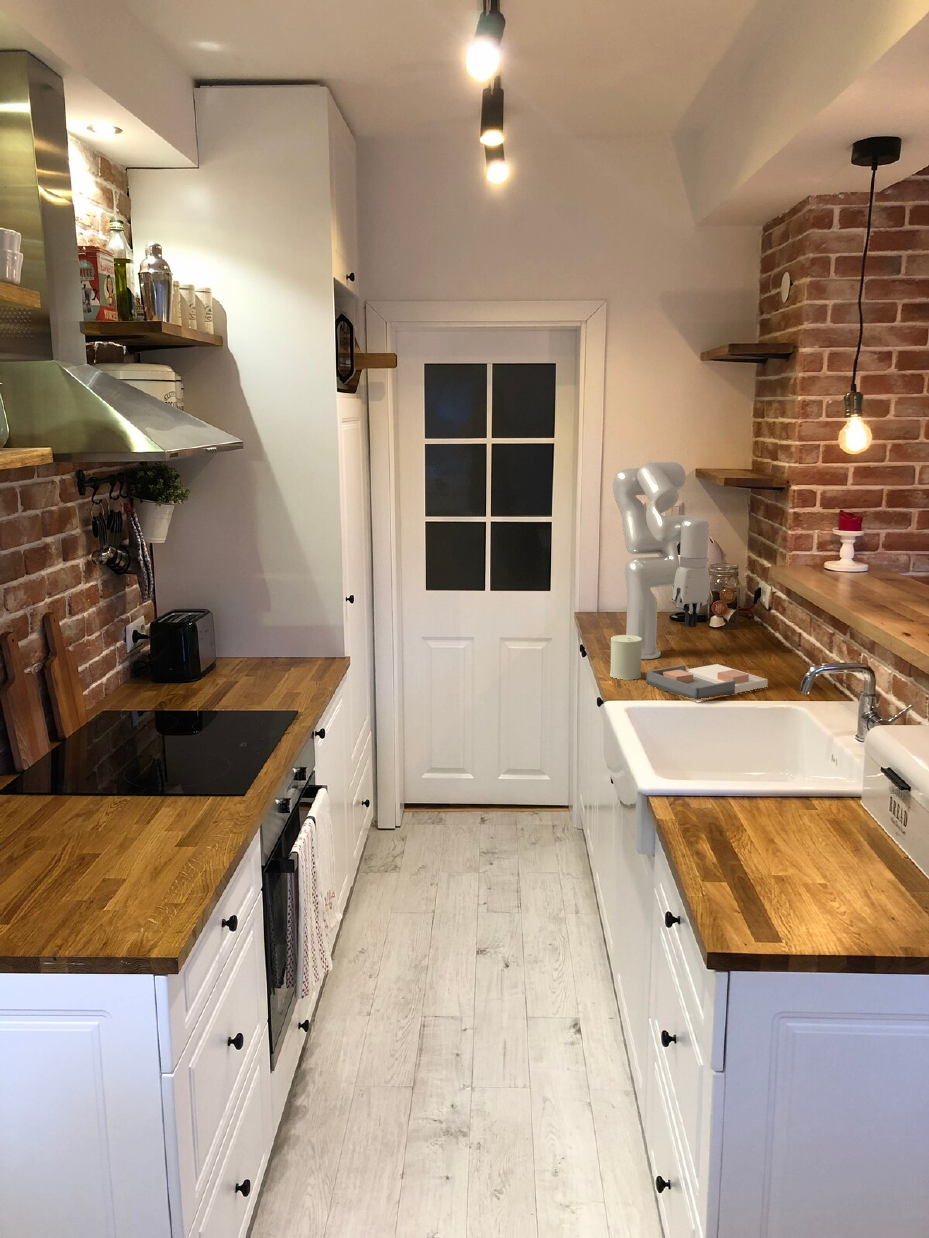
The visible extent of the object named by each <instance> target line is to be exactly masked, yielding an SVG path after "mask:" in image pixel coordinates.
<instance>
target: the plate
mask: <svg viewBox="0 0 929 1238" xmlns="http://www.w3.org/2000/svg"><path fill="white" fill-rule="evenodd" d="M728 670H736V671H739V672H743V673H746V674H749V681H747V682H742V683H737V684H735V693H738V692H742V691H750V690H753V689H757V688H764V687H767V688H768V683H769V679H767V678H764V677H761V676H757V675H754V674H751V673H748V672H745V671H741V670H739V669H734V668H733V667H732V668H731V667H729V666H725V665H721V664H718V663H715V664H711V665H705V666H704V665H703V666H698V667H694V668H688V669H686V672H688V673H691V674H693V676H694V677H697V678H700V679H703V680H706V681H709V682H712V683H715V684H717V683H723V682H724V681H721V680H718V679H717V677H718V672H723V671H728ZM750 692H751V691H750Z"/></svg>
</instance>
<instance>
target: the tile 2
mask: <svg viewBox="0 0 929 1238" xmlns="http://www.w3.org/2000/svg"><path fill="white" fill-rule="evenodd" d="M736 670H737V669H735V670H728V671H723V672H718V677H717V679H718V680H721V681H724V682H728V681H735V684H737V683H742V682H747V681H749V674H750V673H748V674H746V673H747V672H745V673H743V672H744V671H742V672H739V671H740V670H738V671H736Z"/></svg>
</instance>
